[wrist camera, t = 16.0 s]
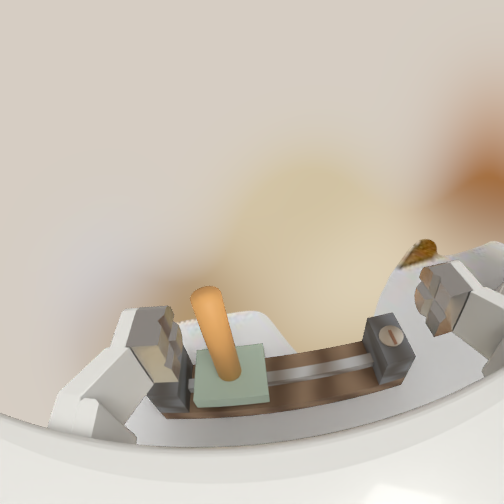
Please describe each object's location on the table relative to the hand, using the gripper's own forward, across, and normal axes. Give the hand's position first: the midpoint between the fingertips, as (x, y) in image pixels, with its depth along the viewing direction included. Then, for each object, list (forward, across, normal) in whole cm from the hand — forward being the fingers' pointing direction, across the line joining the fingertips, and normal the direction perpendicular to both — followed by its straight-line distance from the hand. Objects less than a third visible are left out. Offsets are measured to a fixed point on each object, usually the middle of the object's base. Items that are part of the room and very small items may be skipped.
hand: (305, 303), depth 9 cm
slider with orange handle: (+14, +6, +26) cm, 31 cm away
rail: (+14, 0, +30) cm, 33 cm away
